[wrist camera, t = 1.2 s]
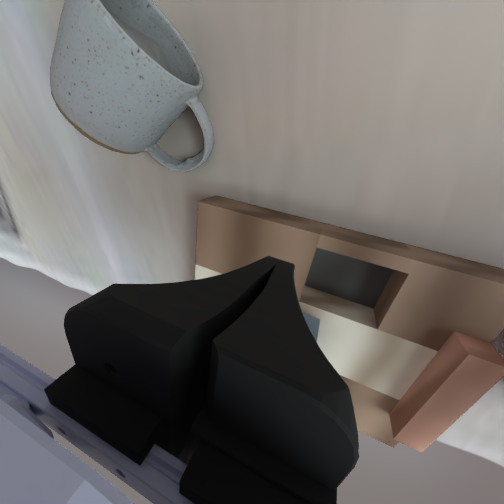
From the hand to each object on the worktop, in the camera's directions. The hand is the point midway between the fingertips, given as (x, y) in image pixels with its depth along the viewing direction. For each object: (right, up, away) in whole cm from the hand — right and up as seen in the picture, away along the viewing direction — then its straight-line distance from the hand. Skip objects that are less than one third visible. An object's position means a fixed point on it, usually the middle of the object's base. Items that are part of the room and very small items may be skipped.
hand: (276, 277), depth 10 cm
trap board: (+4, -5, +11) cm, 13 cm away
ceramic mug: (-8, +14, +9) cm, 18 cm away
